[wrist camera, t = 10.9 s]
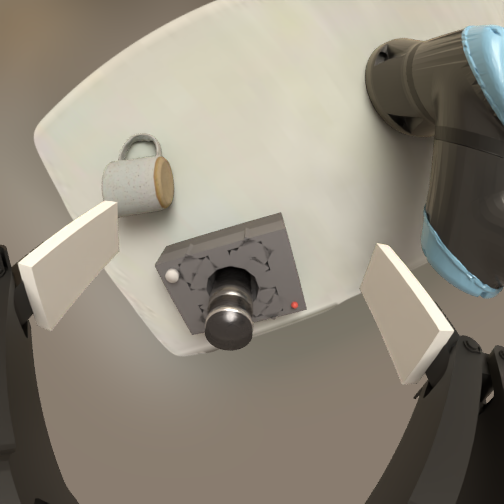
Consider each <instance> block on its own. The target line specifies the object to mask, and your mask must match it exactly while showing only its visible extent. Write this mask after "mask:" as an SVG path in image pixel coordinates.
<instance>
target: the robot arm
mask: <svg viewBox="0 0 504 504" xmlns="http://www.w3.org/2000/svg"><path fill="white" fill-rule="evenodd" d="M366 86H367V91H368V94H369V97H370V100H371V102H372V104H373V106H374V108H375V109H376V111H377V112H378V114H379V115H380V116H381V117H382V119H383V120H384V121H385V122H386V123H387V124H388V125H390V126H391V127H392V128H394V129H395V130H397V131H399V132H401V133H403V134H406V135H410V136H415V137H431V136H435V137H434V147H433V158H432V168H431V176H430V184H429V191H428V197H427V203H426V205H425V207H424V211H423V213H424V222H423V229H422V235H421V246H422V250H423V252H424V254H425V256H426V257H427V260H428V262H429V263H430V265H431V266H432V267H433V268H434V269H435V271H436V272H437V273H438V274H439V275H440V276H441V277H443V278H444V279H445V280H447V281H448V282H449V283H450V284H452V285H453V286H455V287H456V288H458V289H460V290H461V291H463V292H465V293H467V294H470V295H472V296H476V297H478V296H479V295H480V296H481V297H483V298H492V297H495V296H496V295H497V294H498V293H499V292H501V291H502V289H503V287H504V28H503V27H501V26H497V25H483V26H468V27H466V28H464V29H462V30H458V31H455V32H451V33H448V34H445V35H442V36H438V37H435V38H432V39H429V40H427V41H420V40H414V39H407V38H400V39H394V40H391V41H388V42H386V43H384V44H382V45H380V46H379V47H378V48H376V49H375V50H374V52H373V53H372V54H371V56H370V58H369V60H368V63H367V67H366ZM118 252H119V236H118V206H117V202H113V201H104V202H102V203H100V204H99V205H97V206H96V207H94V208H93V209H91V210H89V211H88V212H86V213H85V214H83V215H82V216H80V217H79V218H77V219H76V220H74V221H73V222H71V223H70V224H69V225H67V226H66V227H64V228H63V229H61V230H60V231H59V232H57V233H56V234H54V235H53V236H52V237H50V238H49V239H48V240H46V241H44V242H42V243H41V244H40V245H38V246H37V247H36V248H35V249H33V250H32V251H31V252H30V253H29V254H27V255H26V256H25V257H23V258H22V259H21V260H19V261H18V262H17V263H16V264H15V265H14V266H13V267H11V264H10V260H9V256H8V252H7V248H6V247H5V246H4V245H0V504H79V503H78V502H77V500H76V499H75V497H74V496H73V495H72V493H71V492H70V491H69V490H68V488H67V487H66V484H65V482H64V480H63V478H62V475H61V472H60V469H59V467H58V464H57V461H56V459H55V455H54V452H53V449H52V446H51V443H50V439H49V436H48V432H47V428H46V425H45V421H44V417H43V412H42V408H41V403H40V398H39V393H38V387H37V381H36V374H35V367H34V359H33V349H32V337H31V326H30V322H29V320H28V319H29V318H30V316H31V315H32V314H34V317H35V320H36V323H37V325H38V326H39V327H42V328H44V329H47V330H49V331H52V330H53V328H54V327H55V326H56V325H57V323H58V322H59V321H60V319H61V318H62V317H63V316H64V314H65V313H66V312H67V311H68V309H69V308H70V307H71V305H72V304H73V303H74V302H75V301H76V299H77V298H78V297H79V296H80V295H81V294H82V292H83V291H84V290H85V289H86V288H87V286H88V285H89V284H90V283H91V282H92V281H93V280H94V278H95V277H96V276H97V275H98V274H99V273H100V272H101V270H102V269H103V268H104V267H105V266H106V265H107V264H108V263H109V262H110V261H111V259H112V258H113V257H114V256H115V255H116V254H117V253H118ZM360 290H361V293H362V294H363V297H364V299H365V301H366V303H367V305H368V307H369V309H370V311H371V313H372V316H373V318H374V320H375V322H376V324H377V326H378V329H379V331H380V333H381V335H382V338H383V340H384V342H385V344H386V347H387V349H388V351H389V354H390V355H391V359H392V361H393V363H394V366H395V368H396V371H397V373H398V376H399V378H400V381H401V383H402V385H405V384H417V382H418V381H419V380H420V379H421V378H422V376H423V375H424V374H425V373H426V375H427V378H428V380H427V382H426V383H425V384H424V385H423V387H422V388H421V389H420V390H419V391H418V393H417V394H416V395H415V396H414V399H416V398H417V397H418V396H419V399H418V402H417V404H416V407H415V409H414V412H413V414H412V417H411V419H410V421H409V424H408V426H407V428H406V430H405V433H404V435H403V437H402V439H401V441H400V443H399V445H398V447H397V449H396V451H395V453H394V455H393V457H392V459H391V461H390V463H389V465H388V466H387V468H386V470H385V472H384V473H383V475H382V477H381V479H380V481H379V482H378V484H377V485H376V487H375V489H374V490H373V492H372V493H371V495H370V496H369V498H368V500H367V501H366V503H365V504H504V347H502V346H499V345H497V346H495V347H494V349H493V350H492V352H491V353H490V354H486V353H483V352H482V349H481V347H480V346H479V344H478V343H477V342H476V341H475V340H473V339H472V338H470V337H468V336H459V334H458V333H457V331H456V330H455V328H454V327H453V325H452V324H451V322H450V321H449V320H448V318H446V315H445V314H444V313H443V312H442V310H441V309H440V307H439V306H438V304H437V303H436V302H435V301H434V300H433V299H431V297H430V296H429V295H428V293H427V292H426V291H425V289H424V288H423V287H422V285H421V284H420V283H419V282H418V280H417V279H416V278H415V276H414V275H413V274H412V273H411V271H410V270H409V269H408V268H407V267H406V265H405V264H404V263H403V262H402V260H401V259H400V258H399V257H398V256H397V255H396V253H395V252H394V251H393V250H392V249H391V247H390V246H388V245H383V244H378V243H376V246H375V249H374V252H373V255H372V257H371V260H370V263H369V266H368V268H367V271H366V273H365V276H364V279H363V281H362V284H361V286H360ZM493 390H494V397H493V398H492V399H491V400H490V401H489V402H488V403H487V404H486V398H487V397H488V396H489V395H490V394H491V392H492V391H493Z"/></svg>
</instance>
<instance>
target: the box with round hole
mask: <svg viewBox="0 0 504 504" xmlns="http://www.w3.org/2000/svg"><path fill="white" fill-rule="evenodd" d="M228 266H233V267H238V268H243V269H246V270H247V271H248V272H249V273H250V274H251V292H252V296H253V316H252V320H253V322H257V321H262V320H266V319H270V318H272V319H275V318H276V317H279V316H283V315H287V314H291V313H295V312H299V311H303V310H306V304H305V300H304V296H303V292H302V288H301V284H300V280H299V276H298V272H297V269H296V265H295V261H294V257H293V254H292V250H291V246H290V242H289V239H288V235H287V232H286V228H285V224H284V221H283V217H282V214H281V213H278V214H274V215H270V216H267V217H263V218H260V219H256V220H253V221H249V222H246V223H242V224H239V225H235V226H232V227H228V228H225V229H222V230H218V231H215V232H211V233H208V234H205V235H201V236H198V237H195V238H192V239H188V240H185V241H182V242H179V243H175V244H172V245H169V246H166V248H165V249H164V251H163V253H162V254H161V256H160V257H159V259H158V261H157V262H156V264H155V267H156V269H157V271H158V273H159V275H160V277H161V279H162V281H163V283H164V285H165V287H166V288H167V290H168V292H169V294H170V296H171V298H172V300H173V302H174V303H175V305H176V307H177V309H178V311H179V312H180V314H181V316H182V318H183V320H184V321H185V323H186V325H187V327H188V328H189V330H190V332H191V333H192V335H193V334H199V333H204V332H205V322H206V318H207V315H208V304H209V298H210V293H211V290H212V288H213V283H214V278H215V273H216V270H217V269H221V268H224V267H228Z"/></svg>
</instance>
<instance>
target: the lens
mask: <svg viewBox="0 0 504 504" xmlns="http://www.w3.org/2000/svg"><path fill="white" fill-rule="evenodd" d="M252 316H253V296H252V292H251V274H250V273H249V272H248V271H247V270H246V269H243V268H238V267H233V266H228V267H224V268H221V269H217V270H216V273H215V278H214V283H213V288H212V290H211V293H210V298H209V304H208V315H207V318H206V322H205V336H206V338H207V340H208V341H209V342H210V343H211V344H212V345H213V346H215V347H217V348H219V349H223V350H237V349H241V348H243V347H245V346H246V345H247V344H248V343H249V342H250V341H251V339H252V332H253V320H252Z"/></svg>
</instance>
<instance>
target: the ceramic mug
mask: <svg viewBox="0 0 504 504" xmlns="http://www.w3.org/2000/svg"><path fill="white" fill-rule="evenodd" d="M136 141H148V142H149V141H153V142H154V143H155V146H156V156H149V157H142V158H136V159H127V160H125V156H126V153H127V151H128V149H129V147H130V146H131V145H132V144H133V143H134V142H136ZM161 156H162V151H161V146H160V144H159V142H158V141H157V139H156V138H154V137H153V136H152V135H150V134H146V133H142V134H136V135H133V136H131V137H130V138H129V139H128V140H127V141H126V142H125V143H124V145H123V147H122V149H121V151H120V155H119V159H118V161H114V162H111V163H109V164H108V165H107V166H106V168H105V170H104V173H103V177H102V196H103V201H113V202H117V206H118V218H119V217H124V216H130V215H137V214H142V213H149V212H156V211H160V210H163V209H166V208H167V207H169V206H170V204H171V202H172V200H173V193H174V184H173V175H172V170H171V167H170V164H169V162H168V161H167V160H166V159H165V158H164V157H161Z"/></svg>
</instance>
